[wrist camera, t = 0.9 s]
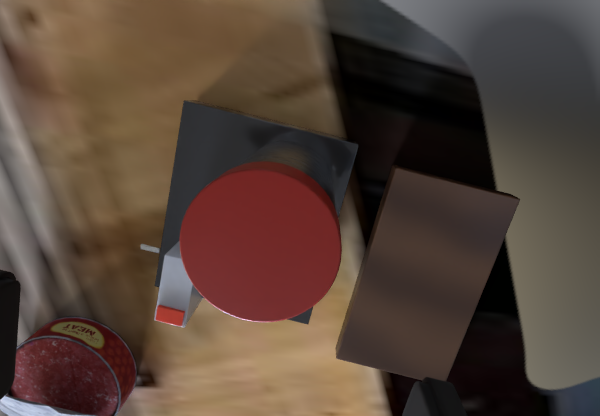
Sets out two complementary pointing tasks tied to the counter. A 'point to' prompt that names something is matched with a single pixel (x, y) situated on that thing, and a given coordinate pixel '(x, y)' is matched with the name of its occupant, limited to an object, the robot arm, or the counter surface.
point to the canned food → (71, 371)
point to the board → (423, 273)
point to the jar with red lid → (265, 235)
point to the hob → (236, 160)
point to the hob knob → (176, 291)
